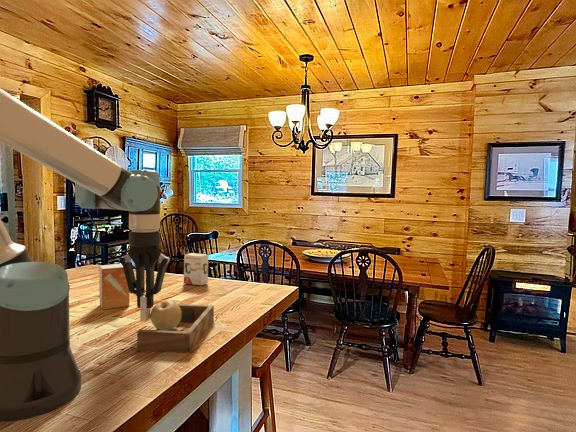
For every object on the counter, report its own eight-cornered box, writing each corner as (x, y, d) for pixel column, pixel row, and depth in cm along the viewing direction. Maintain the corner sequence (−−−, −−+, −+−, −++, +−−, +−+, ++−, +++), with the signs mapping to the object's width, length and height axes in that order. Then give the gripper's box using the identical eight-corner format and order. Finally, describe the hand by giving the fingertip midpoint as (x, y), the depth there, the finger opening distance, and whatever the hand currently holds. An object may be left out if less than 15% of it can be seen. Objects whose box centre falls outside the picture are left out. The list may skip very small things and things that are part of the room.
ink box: (183, 283, 148) (182, 254, 147) (190, 281, 153) (190, 252, 152) (201, 286, 145) (201, 256, 144) (208, 283, 150) (208, 254, 149)
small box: (102, 310, 114) (101, 268, 113) (99, 305, 119) (98, 265, 119) (130, 306, 119) (129, 266, 118) (126, 301, 124) (125, 262, 123)
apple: (148, 326, 101) (148, 299, 101) (178, 322, 105) (178, 295, 104) (152, 336, 94) (152, 307, 94) (184, 332, 98) (184, 303, 97)
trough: (190, 352, 86) (189, 333, 85) (137, 350, 86) (137, 331, 86) (213, 320, 107) (213, 305, 106) (171, 319, 107) (171, 303, 107)
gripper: (174, 229, 99) (174, 315, 100) (127, 228, 99) (128, 314, 101) (164, 232, 91) (164, 325, 93) (112, 231, 92) (113, 324, 93)
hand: (145, 319), depth 97 cm, fingers closed
